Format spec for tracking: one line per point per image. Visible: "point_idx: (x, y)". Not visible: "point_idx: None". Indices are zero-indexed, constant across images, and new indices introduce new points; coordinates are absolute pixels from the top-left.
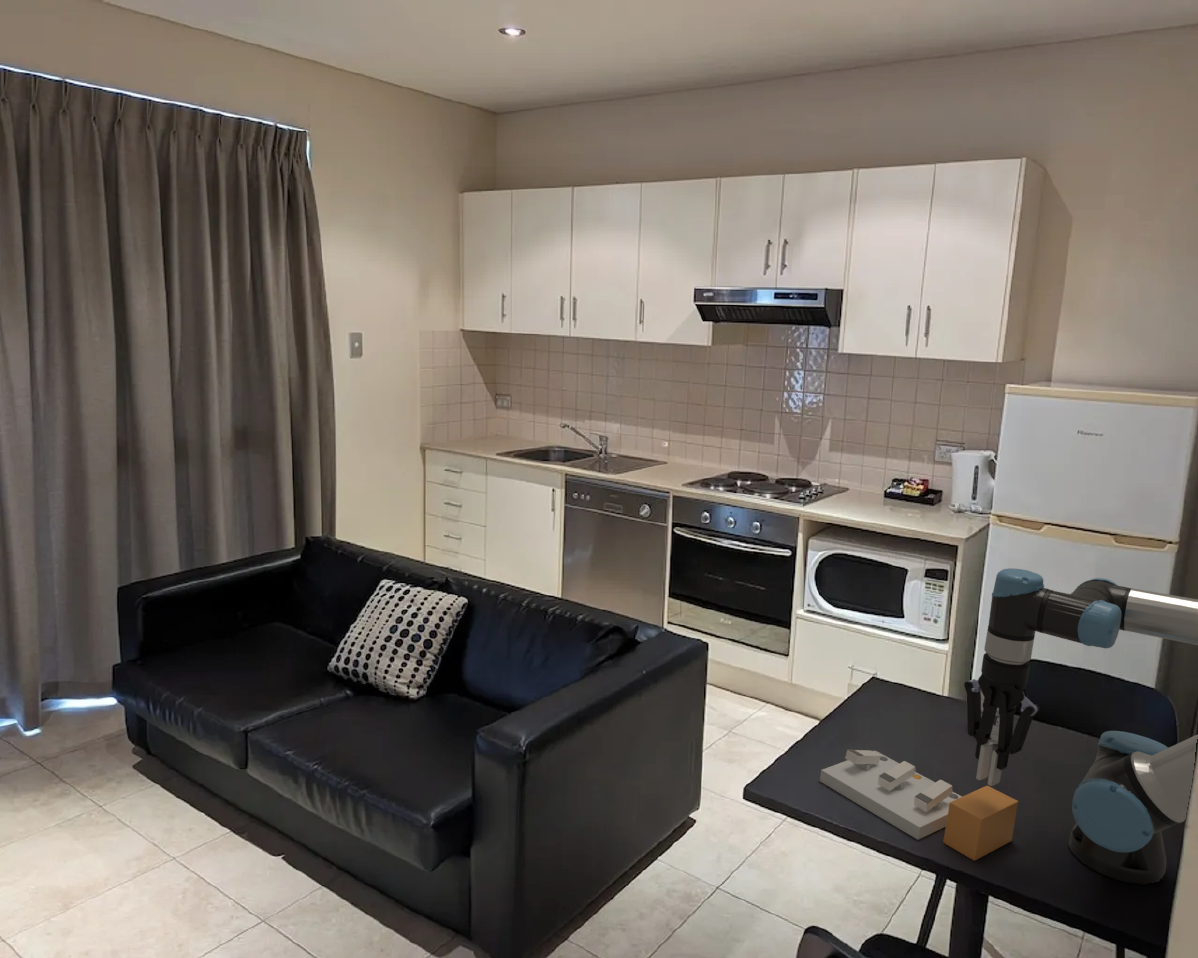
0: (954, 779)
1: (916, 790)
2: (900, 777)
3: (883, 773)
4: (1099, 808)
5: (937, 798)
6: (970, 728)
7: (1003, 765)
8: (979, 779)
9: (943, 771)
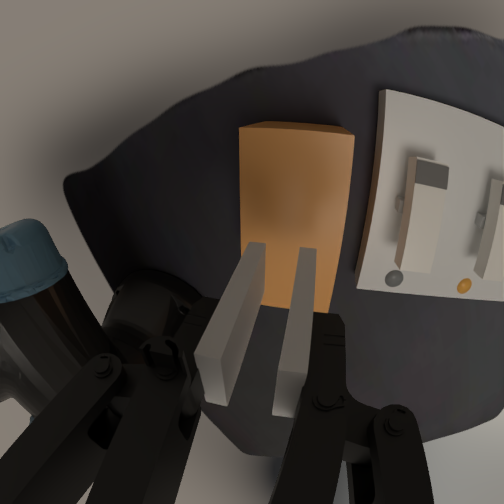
0: (409, 342)
1: (455, 238)
2: (494, 222)
3: None
4: None
5: (409, 204)
6: (402, 450)
7: (188, 313)
8: (301, 247)
9: (427, 347)
